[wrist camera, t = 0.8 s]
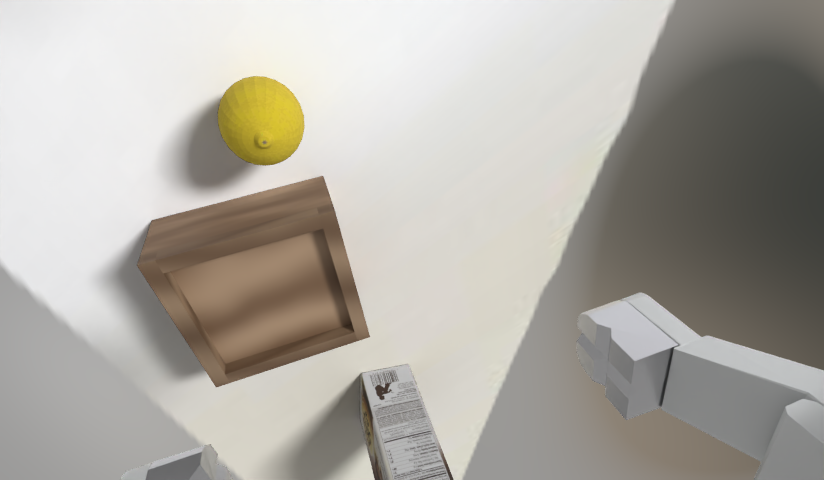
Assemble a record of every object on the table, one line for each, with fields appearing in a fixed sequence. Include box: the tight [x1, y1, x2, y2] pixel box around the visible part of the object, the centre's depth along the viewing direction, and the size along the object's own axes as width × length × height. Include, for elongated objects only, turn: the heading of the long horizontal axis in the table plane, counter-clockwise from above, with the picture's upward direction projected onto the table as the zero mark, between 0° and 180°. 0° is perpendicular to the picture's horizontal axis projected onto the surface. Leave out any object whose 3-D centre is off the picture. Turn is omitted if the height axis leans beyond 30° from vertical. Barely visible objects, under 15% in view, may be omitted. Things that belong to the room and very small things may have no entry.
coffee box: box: [360, 364, 453, 480], centre depth 50 cm, size 9×6×16 cm
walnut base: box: [137, 176, 370, 387], centre depth 38 cm, size 14×14×6 cm
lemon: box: [218, 76, 304, 165], centre depth 30 cm, size 6×6×8 cm
